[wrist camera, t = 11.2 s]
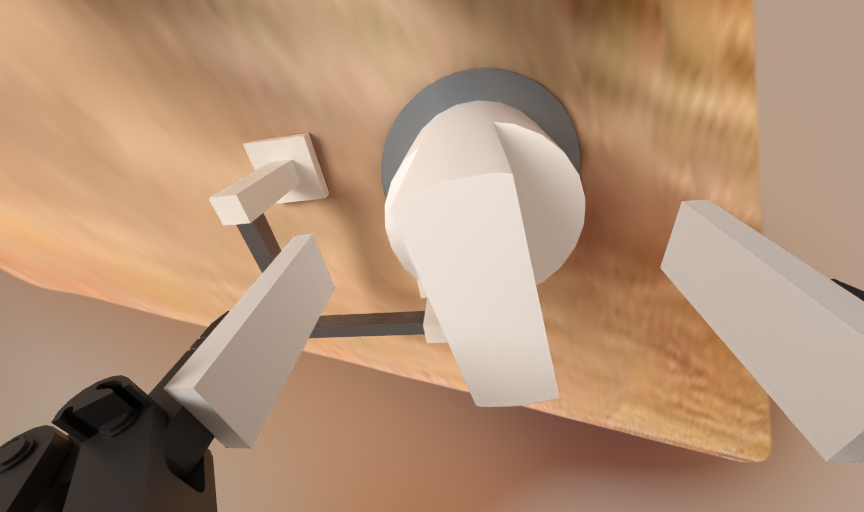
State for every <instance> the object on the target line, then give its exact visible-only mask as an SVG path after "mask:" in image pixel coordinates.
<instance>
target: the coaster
mask: <svg viewBox="0 0 864 512" xmlns="http://www.w3.org/2000/svg"><path fill="white" fill-rule="evenodd" d="M477 100H480V101H493V102H501V103H503V104H506V105H508V106H511V107H513V108H516V109H518V110H520V111H522V112H523V113H524V114H525V115H526V116H528V117H529V118H530V119H531V120H533V121H534V122H535V123H536V124H537V125H538V126H539V127H540V128H541V129H542V130H543V131H544V132H545V133H546V134H547V135H548V136H549V137H550V138H551V139H552V140H553V141H554V142H555V143H556V144H557V145H558V146H559V147H560V148H561V149H562V150H563V151H564V153H565V154H566V156H567V157H568V159H569V160H570V162H571V163H572V165H573V166H574V168H575V169H576V171H577V172H578V174H579V172H580V149H579V142H578V138H577V134H576V130H575V128H574V126H573V123H572V121H571V119H570V117H569V115H568V114H567V112H566V110H565V109H564V107H563V106H562V105H561V103H560V102H559V101H558V100H557V99H556V98H555V97H554V95H552V94H551V93H550V92H549V91H548V90H546V89H545V88H544V87H543V86H541V85H540V84H538V83H536V82H535V81H533V80H531V79H530V78H527V77H525V76H522V75H520V74H517V73H515V72H511V71H507V70H502V69H493V68H478V69H468V70H464V71H460V72H456V73H453V74H450V75H448V76H445V77H443V78H441V79H439V80H437V81H435V82H434V83H432V84H430V85H428V86H427V87H426V88H425V89H423V90H422V91H421V92H419V93H418V94H417V95H416V96H415V97H414V98H413V99H412V100H411V101H410V102H409V103H408V104H407V105H406V106H405V107H404V109H403V110H402V111H401V113H400V114H399V116H398V117H397V119H396V120H395V122H394V124H393V126H392V128H391V130H390V132H389V135H388V137H387V140H386V143H385V147H384V152H383V157H382V183H383V189H384V193H385V196H386V199H387V195H388V192H389V188H390V184H391V181H392V179H393V178H394V176H395V174H396V172H397V171H398V169H399V167H400V165H401V163H402V162H403V160H404V158H405V156H406V155H407V153H408V151H409V149H410V148H411V146H412V144H413V143H414V141H415V139H416V138H417V136H418V134H419V133H420V131H421V129H422V128H424V127H425V126H426V125H427V124H428V123H429V122H430V121H431V120H432V119H433V118H434V117H435V116H436V115H438V114H440V113H442V112H443V111H445V110H447V109H449V108H451V107H453V106H455V105H458V104H462V103H467V102H472V101H477Z"/></svg>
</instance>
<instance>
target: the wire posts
mask: <svg viewBox="0 0 864 512" xmlns="http://www.w3.org/2000/svg"><path fill="white" fill-rule="evenodd" d="M243 146H244V148H245V150H246V152H247V154H248V157H249V159H250V161H251V163H252V165H253V168H254V170H255V171H254V172H252V173H250V174H248V175H247V176H245V177H243V178H242V179H240V180H238V181H236V182H235V183H233V184H231V185H229V186H228V187H226V188H224V189H223V190H221V191H219V192H217V193H216V194H214V195H212V196H210V197H209V198H208V199H209V201H210V202H211V204H212V206H213V208H214V209H215V211H216V213H217V215H218V217H219V218H220V220H221V222H222V224H223V225H224V226H226V225H237V224H247V223H251V222H253V221H254V220H255V219H256V218H258V217H259V216H260V215H261V214H262V213H264V212H265V211H266V210H267V209H269V208H270V207H271V206H272V205H274V204H278V203H288V202H297V201H307V200H316V199H325V198H326V197H327V196H328V195H329V191H328V188H327V185H326V182H325V179H324V176H323V173H322V170H321V167H320V164H319V161H318V158H317V156H316V153H315V150H314V147H313V144H312V141H311V138H310V135H309V133H304V134H297V135H290V136H282V137H275V138H268V139H261V140H254V141H249V142H247V143H244V144H243ZM417 282H418V286H419V291H420V296H421V298H427V303H426V309H425V316H424V323H423V328H424V332H425V337H426V342H427V343H448V341H447V339H446V337H445V334H444V332H443V330H442V328H441V325H440V323H439V321H438V319H437V316H436V314H435V312H434V310H433V307H432V305H431V303H430V301H429V298H428V296H427V294H426V292H425V289H424V287H423V285H422V283H421V282H419V281H418V280H417Z"/></svg>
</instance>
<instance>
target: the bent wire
mask: <svg viewBox="0 0 864 512" xmlns="http://www.w3.org/2000/svg"><path fill="white" fill-rule="evenodd" d="M237 227H238V229H239V231H240V232H241V234H242V236H243V238H244V240H245V242H246V244H247V246H248V247H249V249H250V251H251V253H252V255H253V257H254V259H255V260H256V262H257V264H258V266H259V268H260V270H261V272H262V273H263V272H264V271H265V270H266V269H267V267H268V266H269V265H270V264H271V263H272V262H273V260H274V259H275V258H276V257H277V256H278V255H279V253H280V252H281V249H280V247H279V245H278V243H277V241H276V239H275V236H274V234H273V232H272V230H271V228H270V226H269V224H268V222H267V220H266V217H265V215H264V213H262V214H261V215H260V216H259V217H258V218H256V219H255V220H254V221H253V222H251V223H247V224H237ZM424 316H425V311H417V312H394V313H372V314H350V315H327V316H320V317H319V319H318V321H317V323H316V325H315V327H314V329H313V331H312V333H311V335H310V337H309V338H326V337H356V336H386V335H416V334H425V332H424V328H423V323H424Z"/></svg>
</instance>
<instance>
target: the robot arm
mask: <svg viewBox="0 0 864 512" xmlns="http://www.w3.org/2000/svg"><path fill="white" fill-rule="evenodd" d="M660 269H661V270H662V271H663V272H664V273H665V274H666V276H667V277H668V278H669V279H670V280H671V281H672V283H673V284H674V285H675V286H676V287H677V288H678V290H679V291H680V292H681V293H682V294H683V295H684V297H685V298H686V299H687V300H688V301H689V302H690V304H691V305H692V306H693V307H694V308H695V309H696V311H697V312H698V313H699V314H700V315H701V316H702V317H703V319H704V320H705V321H706V322H707V323H708V324H709V326H710V327H711V328H712V329H713V330H714V331H715V333H716V334H717V335H718V336H719V337H720V338H721V340H722V341H723V342H724V343H725V344H726V345H727V347H728V348H729V349H730V350H731V351H732V352H733V354H734V355H735V356H736V357H737V358H738V359H739V361H740V362H741V363H742V364H743V365H744V366H745V368H746V369H747V370H748V371H749V372H750V373H751V375H752V376H753V377H754V378H755V379H756V380H757V382H758V383H759V384H760V385H761V386H762V387H763V389H764V390H765V391H766V392H767V393H768V394H769V396H770V397H771V398H772V399H773V400H774V401H775V402H776V404H777V405H778V406H779V407H780V408H781V409H782V411H783V412H784V413H785V414H786V415H787V417H788V418H789V419H790V420H791V421H792V422H793V423H794V425H795V426H796V427H797V428H798V429H799V431H800V432H801V433H802V434H803V435H804V436H805V438H806V439H807V440H808V441H809V442H810V443H811V445H812V446H813V447H814V448H815V449H816V450H817V452H818V453H819V454H820V455H821V456H822V457H823V458H824V460H825V461H826V462H864V291H862V290H859V289H857V288H854V287H852V286H850V285H847V284H845V283H842V282H840V281H838V280H835V279H829V278H827V277H826V276H824V275H822V274H821V273H820V272H818V271H817V270H815V269H813V268H812V267H810V266H809V265H807V264H806V263H804V262H803V261H801V260H799V259H798V258H797V257H795V256H794V255H792V254H791V253H789V252H788V251H786V250H784V249H783V248H781V247H780V246H778V245H777V244H775V243H774V242H772V241H771V240H769V239H768V238H766V237H765V236H763V235H762V234H760V233H759V232H757V231H756V230H754V229H753V228H751V227H749V226H748V225H746V224H745V223H743V222H742V221H740V220H739V219H737V218H736V217H734V216H733V215H731V214H730V213H728V212H727V211H725V210H724V209H722V208H720V207H719V206H717V205H716V204H714V203H713V202H711V201H710V200H708V199H704V200H693V201H682V203H681V206H680V209H679V212H678V215H677V218H676V221H675V224H674V227H673V230H672V233H671V236H670V239H669V242H668V245H667V249H666V252H665V255H664V258H663V261H662V264H661V267H660ZM334 288H335V287H334V284H333V282H332V279H331V277H330V274H329V272H328V270H327V267H326V265H325V262H324V260H323V257H322V255H321V253H320V250H319V248H318V245H317V243H316V240H315V238H314V236H313V234H306V235H295V236H294V237H293V238H292V239H291V241H290V242H289V243H288V244H287V245H286V246H285V248H284V249H283V250H282V251H281V252H280V253H279V255H278V256H277V257H276V258H275V259H274V260H273V262H272V263H271V264H270V265H269V266H268V267H267V269H266V270H265V271H264V272H263V273H262V274H261V276H260V277H259V278H258V279H257V280H256V281H255V282H254V284H253V285H252V286H251V287H250V288H249V289H248V291H247V292H246V293H245V294H244V295H243V296H242V298H241V299H240V300H239V301H238V302H237V303H236V305H235V306H234V307H233V308H232V309H231V310H230V311H227V312H226V313H225V314H223V315H222V316H221V317H219V318H218V319H217V320H215V321H214V322H213V323H212V324H211V325H210V326H209V327H208V328H207V329H206V330H205V331H204V333H203V334H202V335H201V336H200V339H197V341H196V342H195V343H194V344H193V345H192V346H191V347H190V351H187V352H186V353H185V354H184V355H183V356H182V357H181V359H180V360H179V361H178V362H177V363H176V364H175V365H174V366H173V368H172V369H171V370H170V371H169V372H168V373H167V374H166V376H165V377H164V378H163V379H162V380H161V381H160V382H159V383H158V385H157V386H156V387H155V388H154V389H153V390H152V391H151V393H150V394H149V395H147V394H146V393H145V392H144V391H142V390H141V389H140V388H139V387H138V386H137V385H136V384H135V383H133V382H132V381H131V380H130V379H129V378H127V377H125V376H122V375H120V376H112V377H109V378H106V379H104V380H101V381H98V382H97V383H95V384H93V385H91V386H89V387H88V388H86V389H84V390H83V391H81V392H80V393H79V394H77V395H76V396H75V397H73V398H72V399H71V400H69V401H68V402H67V404H65V405H64V406H63V407H62V408H61V409H60V411H58V413H57V415H56V416H55V418H54V419H53V421H52V423H53V424H54V425H56V426H57V427H59V428H60V429H62V430H64V431H65V432H67V433H68V434H69V435H65V434H64V433H62V432H61V431H59V430H57V429H56V428H54V427H52V426H47V425H45V426H40V427H36V428H33V429H31V430H29V431H27V432H24V433H22V434H20V435H18V436H16V437H14V438H13V439H11V440H10V441H8V442H6V443H5V444H3V445H2V446H1V447H0V512H217V502H216V490H215V477H214V466H213V456H212V454H211V451H210V450H209V449H208V447H209V445H210V443H211V442H212V440H213V439H214V437H215V438H216V439H217V440H218V441H219V442H220V443H221V444H223V445H224V446H225V447H226V448H252V446H253V444H254V443H255V441H256V439H257V437H258V435H259V433H260V431H261V429H262V427H263V425H264V423H265V421H266V419H267V417H268V416H269V413H270V412H271V410H272V408H273V406H274V403H275V402H276V400H277V398H278V396H279V394H280V392H281V390H282V389H283V387H284V385H285V383H286V381H287V379H288V377H289V375H290V373H291V371H292V369H293V367H294V365H295V364H296V362H297V360H298V358H299V356H300V354H301V352H302V350H303V348H304V346H305V344H306V342H307V340H308V338H309V337H310V335H311V333H312V331H313V329H314V327H315V325H316V323H317V321H318V319H319V317H320V315H321V313H322V311H323V310H324V308H325V306H326V304H327V302H328V300H329V298H330V296H331V294H332V292H333V290H334Z"/></svg>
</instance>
